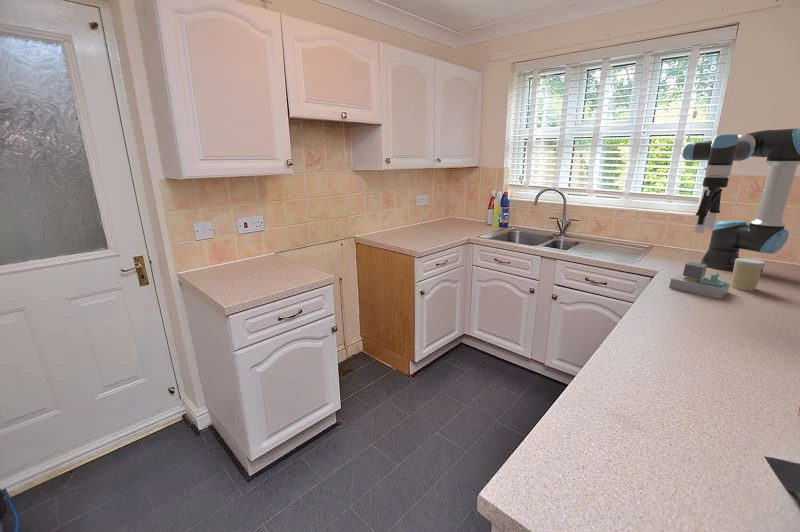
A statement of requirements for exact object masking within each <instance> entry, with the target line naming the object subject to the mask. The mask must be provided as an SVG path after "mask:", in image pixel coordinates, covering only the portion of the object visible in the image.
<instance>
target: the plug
mask: <svg viewBox="0 0 800 532" xmlns="http://www.w3.org/2000/svg"><path fill="white" fill-rule="evenodd" d="M707 268H708V267H707V265H705V264H701V263H700V262H694V261H693V262H692V261H689V262H687V263H685V265H684V268H683V273H682V274H683V276H686V280H691V281H695V282H700V279H701V278H705V277H706V272H707Z"/></svg>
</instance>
